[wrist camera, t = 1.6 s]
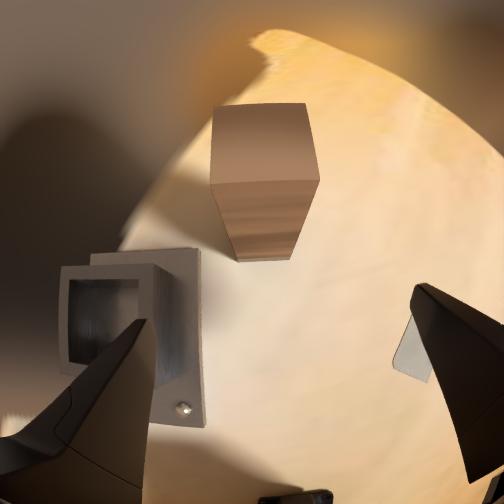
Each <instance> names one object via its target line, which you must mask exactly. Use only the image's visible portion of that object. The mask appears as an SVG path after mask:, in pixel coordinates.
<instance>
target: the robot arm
mask: <svg viewBox="0 0 504 504" xmlns="http://www.w3.org/2000/svg"><path fill="white" fill-rule="evenodd" d="M410 310H411V312H412V315H413V318H414V321H415V323H416V326H417V329H418V332H419V335H420V338H421V341H422V344H423V346H424V348H425V351H426V353H427V355H428V358H429V360H430V362H431V365H432V367H433V370H434V372H435V375H436V377H437V380H438V382H439V385H440V387H441V390H442V393H443V395H444V398H445V401H446V404H447V407H448V409H449V412H450V415H451V418H452V421H453V425H454V428H455V431H456V434H457V438H458V442H459V445H460V449H461V452H462V456H463V460H464V464H465V469H466V473H467V478H468V482H469V484H471V483H473V482H475V481H476V480H478V479H480V478H482V477H484V476H486V475H487V474H489V473H491V472H492V471H494V470H496V469H497V468H499V467H501V466H502V465H504V325H503V324H500V323H499V322H497V321H496V320H494V319H492V318H490V317H489V316H487V315H485V314H483V313H482V312H480V311H478V310H476V309H474V308H473V307H471V306H469V305H467V304H465V303H463V302H462V301H460V300H458V299H456V298H454V297H452V296H451V295H449V294H447V293H445V292H443V291H441V290H439V289H437V288H435V287H433V286H431V285H430V284H428V283H420V284H417V285H416V286H415V287H414V290H413V294H412V297H411V300H410ZM156 353H157V337H156V334H155V332H154V329H153V327H152V325H151V323H150V321H149V320H148V319H147V318H139V319H136V320H134V321H133V322H132V323H131V324H130V325H129V326H128V327H127V328H126V329H125V330H124V331H123V332H122V333H121V334H120V335H119V336H118V337H117V338H116V339H115V340H114V341H113V342H112V343H111V344H110V345H109V346H108V347H107V348H106V349H105V350H104V351H103V352H102V353H101V354H100V355H99V356H98V357H97V358H96V359H95V360H94V361H93V362H92V363H91V364H90V365H89V366H88V367H87V368H86V369H85V370H84V371H83V372H82V373H81V374H80V375H79V376H78V377H77V378H76V379H75V380H74V381H73V382H72V383H71V385H70V386H68V387H67V388H66V389H65V390H64V391H63V392H62V393H61V394H60V395H59V396H58V397H57V398H56V399H55V400H54V401H53V402H52V403H51V404H50V405H49V406H48V407H47V408H46V409H45V410H44V411H42V412H41V413H40V414H39V415H38V416H37V417H36V418H34V419H33V420H32V421H31V422H30V423H29V424H28V425H27V426H25V427H24V428H23V429H22V430H21V431H19V432H18V433H16V434H14V435H11V436H8V437H0V504H142V487H143V473H144V462H145V452H146V443H147V434H148V426H149V418H150V411H151V404H152V397H153V391H154V384H155V370H156ZM328 495H329V496H328ZM326 496H328V497H326ZM261 502H265V503H261ZM257 504H333V493H332V492H330V491H326V492H320V493H312V494H303V495H293V496H282V497H263V498H260V499H258V501H257ZM482 504H504V470H502V471H501V472H500V473H498V474H497V475H496V476H495V477H493V478H492V480H491V482H490V485H489V488H488V490H487V493H486V495H485V498H484V500H483V502H482Z"/></svg>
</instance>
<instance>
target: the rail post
mask: <svg viewBox="0 0 504 504" xmlns="http://www.w3.org/2000/svg"><path fill="white" fill-rule="evenodd" d="M319 182H320V175H319V170H318V164H317V158H316V153H315V147H314V142H313V137H312V132H311V127H310V123H309V118H308V113H307V109H306V104H305V103H264V104H242V105H228V106H217V107H213V122H212V140H211V162H210V186H211V189H212V192H213V195H214V198H215V200H216V203H217V206H218V209H219V211H220V214H221V217H222V220H223V222H224V225H225V228H226V231H227V233H228V236H229V239H230V241H231V244H232V247H233V250H234V252H235V255H236V258H237V260H238V262H255V261H276V260H290V257H291V255H292V252H293V250H294V247H295V245H296V242H297V239H298V237H299V234H300V232H301V229H302V227H303V224H304V221H305V219H306V216H307V214H308V211H309V208H310V206H311V203H312V200H313V198H314V195H315V192H316V190H317V187H318V184H319Z"/></svg>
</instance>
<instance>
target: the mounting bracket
mask: <svg viewBox="0 0 504 504" xmlns="http://www.w3.org/2000/svg"><path fill="white" fill-rule="evenodd" d="M393 366H394V369H396V370H398V371H401V372H403V373H405V374H407V375H409V376H412V377H414V378H416V379H418V380H421V381H423V382H425V383H428V380H429V377H430V374H431V371H432V365H431V362H430V360H429V358H428V355H427V353H426V351H425V348H424V346H423V344H422V341H421V338H420V335H419V332H418V329H417V326H416V323H415V321H414V318H413V315H412V316H411V319H410V321H409V324H408V326H407V329H406V331H405V333H404V336H403V338H402V340H401V343H400V345H399V347H398V349H397V352H396V354H395V356H394V359H393Z"/></svg>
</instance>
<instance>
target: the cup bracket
mask: <svg viewBox="0 0 504 504" xmlns="http://www.w3.org/2000/svg"><path fill="white" fill-rule="evenodd" d="M90 258H91V259H90V265H85V266H84V265H83V266H61V276H60V289H59V290H60V291H59V314H58V315H59V317H58V319H59V320H58V324H59V325H58V330H59V331H58V332H59V333H58V334H59V335H58V336H59V360H60V373H62V374H67V375H71V376H75V377H78V376H79V375H80V374H81V373H82V372H83V371H84V370H85V369H86V368H87V367H88V366H89V365H90V364H91V363H92V362H93V361H94V360H95V359H96V358H97V357H98V356H99V355H100V354H101V353H102V352H103V351H104V350H105V349H106V348H107V347H108V346H109V345H110V344H111V343H112V342H113V341H114V340H115V339H116V338H117V337H118V336H119V335H120V334H121V333H122V332H123V331H124V330H125V329H126V328H127V327H128V326H129V325H130V324H131V323H132V322H133V321H134V320H136V319H139V318H147V319H148V320H149V321H150V323H151V325H152V327H153V329H154V332H155V334H156V337H157V353H156V370H155V384H154V391H153V397H152V404H151V411H150V418H149V422H150V423H157V424H164V425H173V426H183V427H196V428H204V427H205V425H206V413H205V399H204V382H203V363H202V336H201V251H200V250H199V249H198V248H191V249H171V250H152V251H133V252H115V253H98V254H91V257H90Z"/></svg>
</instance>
